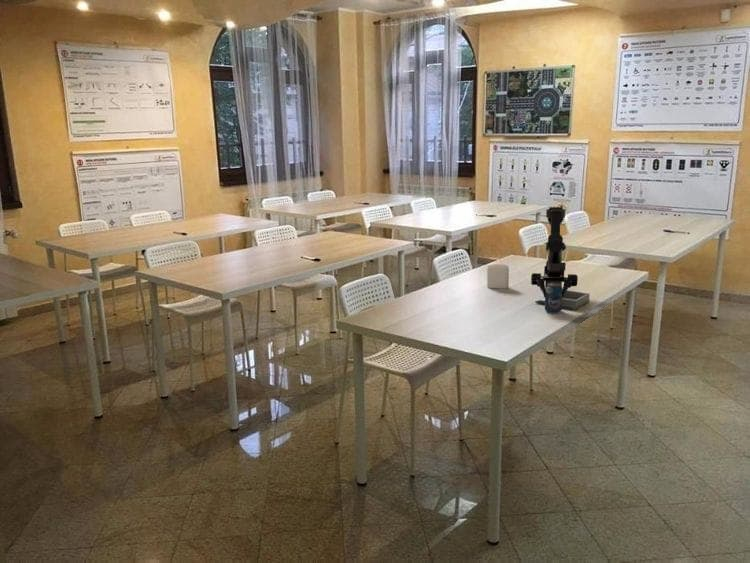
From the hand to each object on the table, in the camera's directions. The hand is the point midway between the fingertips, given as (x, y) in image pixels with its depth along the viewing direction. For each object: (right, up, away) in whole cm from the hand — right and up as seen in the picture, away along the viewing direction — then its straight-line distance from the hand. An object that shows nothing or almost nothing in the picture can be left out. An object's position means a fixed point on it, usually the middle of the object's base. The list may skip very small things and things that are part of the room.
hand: (553, 297), depth 263 cm
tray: (+10, -3, +13) cm, 17 cm away
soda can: (+1, -6, +3) cm, 7 cm away
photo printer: (-15, +3, +42) cm, 45 cm away
